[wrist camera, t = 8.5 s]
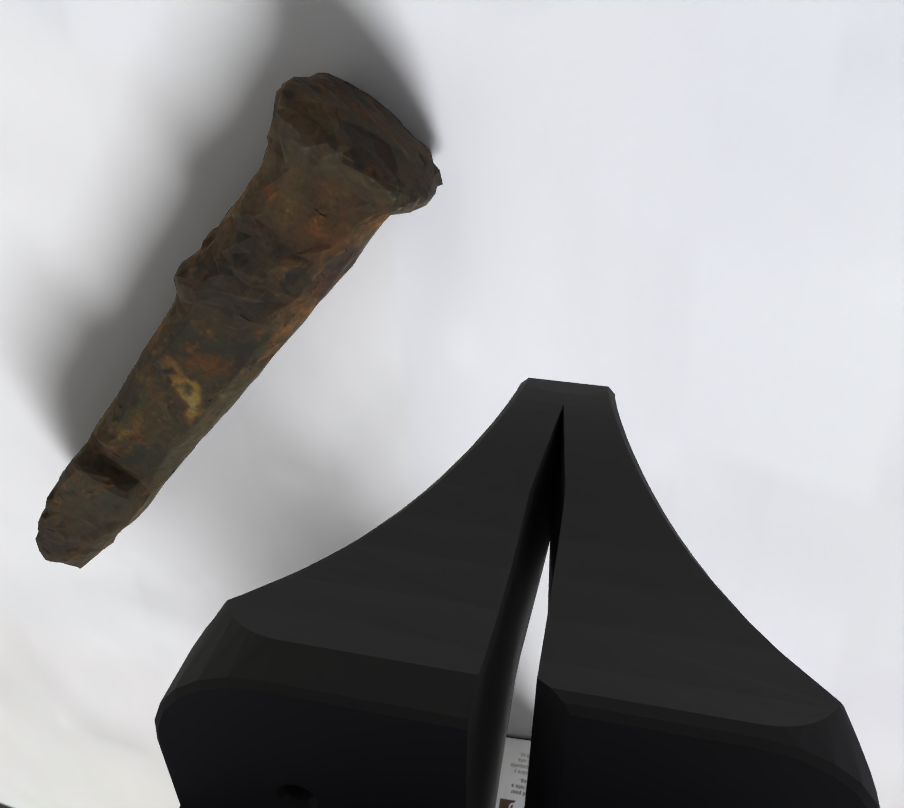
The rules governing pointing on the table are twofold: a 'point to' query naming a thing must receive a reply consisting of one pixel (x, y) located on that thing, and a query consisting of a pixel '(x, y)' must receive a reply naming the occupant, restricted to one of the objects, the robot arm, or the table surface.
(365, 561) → the robot arm
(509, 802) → the coffee box
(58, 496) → the hand tool
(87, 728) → the table surface
